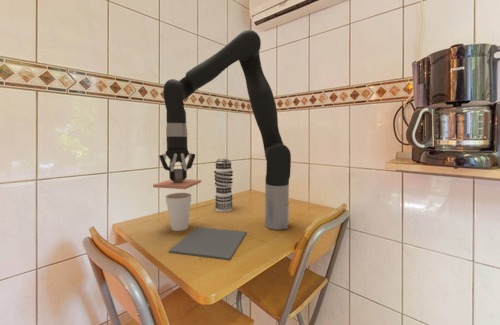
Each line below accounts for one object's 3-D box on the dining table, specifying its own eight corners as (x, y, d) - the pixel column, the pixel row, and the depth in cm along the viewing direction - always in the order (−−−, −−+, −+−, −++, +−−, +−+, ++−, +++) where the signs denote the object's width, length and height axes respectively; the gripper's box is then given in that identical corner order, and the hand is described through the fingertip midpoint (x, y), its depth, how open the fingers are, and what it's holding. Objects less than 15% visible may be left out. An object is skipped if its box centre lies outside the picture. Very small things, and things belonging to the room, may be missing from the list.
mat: (246, 233, 89) (246, 231, 89) (230, 260, 70) (230, 258, 70) (197, 228, 94) (197, 226, 93) (168, 252, 74) (168, 250, 74)
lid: (201, 182, 97) (200, 167, 96) (185, 189, 84) (185, 172, 84) (172, 180, 100) (172, 166, 99) (153, 187, 87) (152, 171, 87)
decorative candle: (225, 213, 112) (225, 160, 109) (210, 210, 117) (209, 159, 114) (236, 208, 120) (236, 158, 117) (222, 205, 125) (221, 157, 122)
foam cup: (196, 224, 97) (195, 193, 96) (184, 233, 88) (183, 199, 87) (175, 222, 100) (174, 192, 98) (162, 230, 91) (160, 197, 90)
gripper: (192, 135, 97) (192, 177, 99) (155, 135, 90) (157, 180, 92) (198, 135, 91) (199, 180, 93) (159, 135, 83) (161, 183, 85)
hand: (178, 180), depth 92 cm, fingers closed on lid, 3 cm apart
